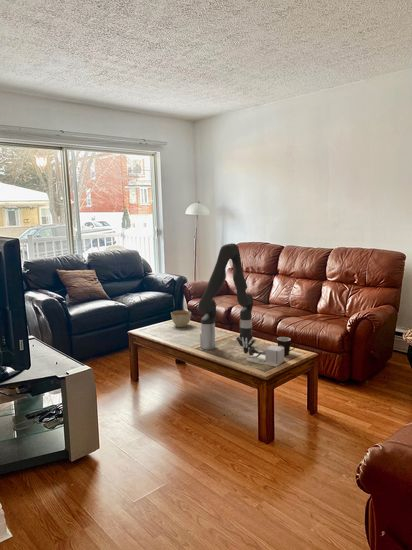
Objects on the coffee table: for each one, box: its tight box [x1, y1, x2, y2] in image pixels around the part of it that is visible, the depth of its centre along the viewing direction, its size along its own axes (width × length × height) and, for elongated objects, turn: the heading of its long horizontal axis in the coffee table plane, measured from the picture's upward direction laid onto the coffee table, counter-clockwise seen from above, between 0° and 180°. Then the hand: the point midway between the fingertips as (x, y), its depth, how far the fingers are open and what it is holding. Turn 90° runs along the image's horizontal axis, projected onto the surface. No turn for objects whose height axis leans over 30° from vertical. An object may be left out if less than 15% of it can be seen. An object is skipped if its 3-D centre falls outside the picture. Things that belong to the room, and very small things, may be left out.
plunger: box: [248, 345, 265, 358], centre depth 249 cm, size 14×9×6 cm, turn 58°
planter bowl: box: [170, 310, 192, 328], centre depth 328 cm, size 16×16×11 cm
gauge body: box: [245, 344, 285, 367], centre depth 248 cm, size 20×12×9 cm, turn 58°
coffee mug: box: [276, 336, 297, 357], centre depth 257 cm, size 12×9×10 cm
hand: (246, 352), depth 256 cm, fingers closed
